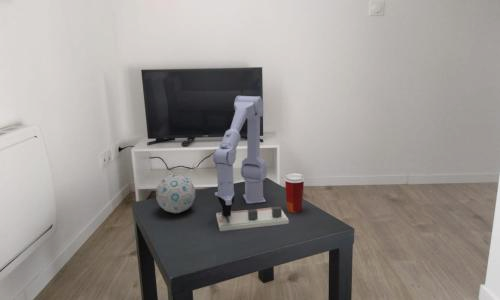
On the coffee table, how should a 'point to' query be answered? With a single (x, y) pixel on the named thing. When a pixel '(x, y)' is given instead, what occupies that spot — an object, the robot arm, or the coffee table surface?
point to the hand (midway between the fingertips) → (226, 215)
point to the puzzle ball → (175, 193)
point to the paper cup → (294, 192)
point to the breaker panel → (241, 220)
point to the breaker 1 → (252, 214)
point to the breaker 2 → (276, 211)
